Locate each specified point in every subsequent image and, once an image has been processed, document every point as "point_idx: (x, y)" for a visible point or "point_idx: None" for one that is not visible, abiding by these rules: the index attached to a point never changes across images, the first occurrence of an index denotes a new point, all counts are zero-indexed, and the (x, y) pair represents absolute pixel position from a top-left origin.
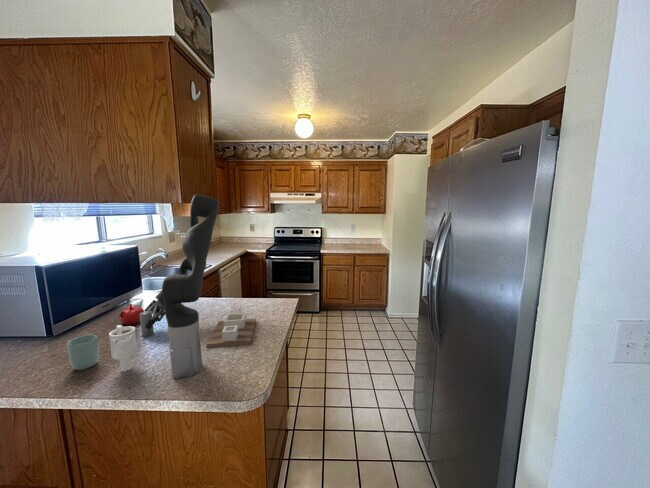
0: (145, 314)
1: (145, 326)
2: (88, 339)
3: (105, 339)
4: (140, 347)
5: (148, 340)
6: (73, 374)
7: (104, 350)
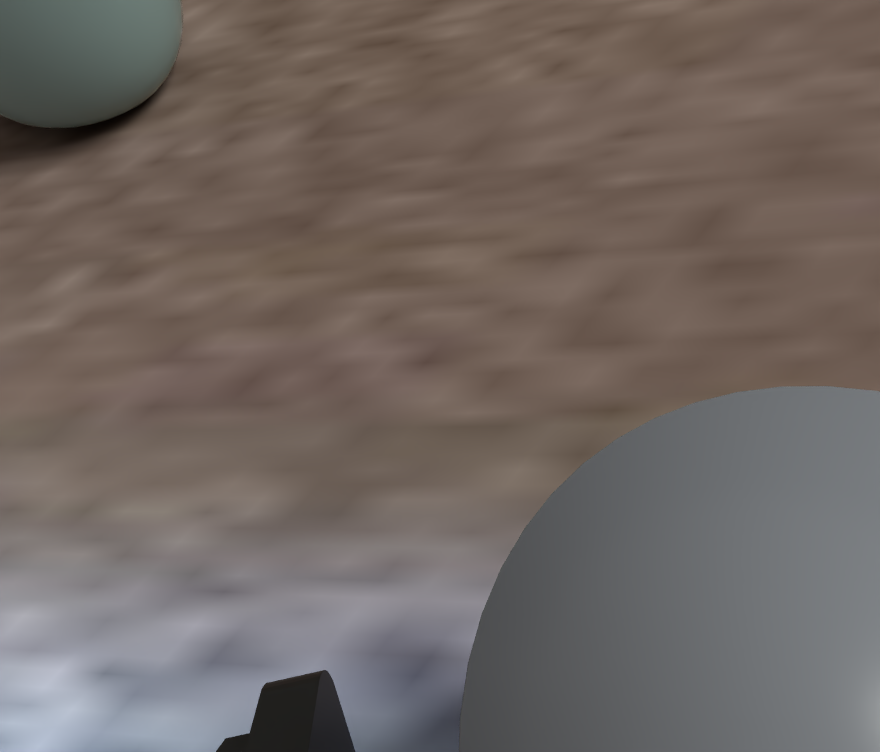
0: (536, 723)
1: (268, 687)
2: None
3: (813, 130)
4: (90, 581)
5: None
6: None
7: (393, 163)
